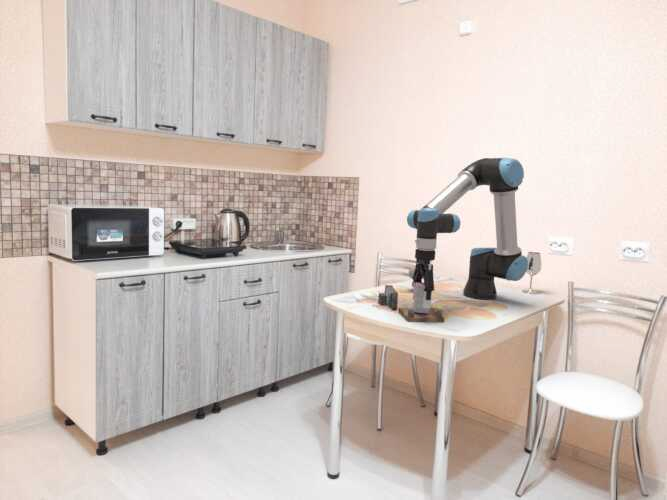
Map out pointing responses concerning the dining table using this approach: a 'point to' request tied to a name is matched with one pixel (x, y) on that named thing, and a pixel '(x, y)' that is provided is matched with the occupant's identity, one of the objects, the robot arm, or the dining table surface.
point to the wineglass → (533, 268)
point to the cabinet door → (411, 317)
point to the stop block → (382, 299)
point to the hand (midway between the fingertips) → (421, 303)
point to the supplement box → (419, 299)
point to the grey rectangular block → (389, 293)
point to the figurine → (411, 273)
